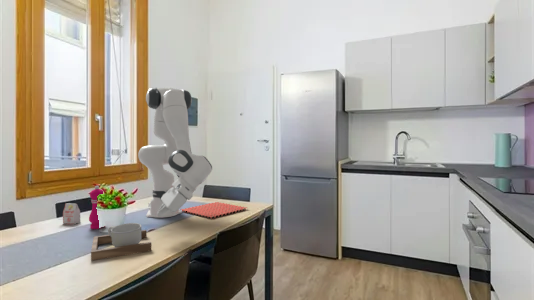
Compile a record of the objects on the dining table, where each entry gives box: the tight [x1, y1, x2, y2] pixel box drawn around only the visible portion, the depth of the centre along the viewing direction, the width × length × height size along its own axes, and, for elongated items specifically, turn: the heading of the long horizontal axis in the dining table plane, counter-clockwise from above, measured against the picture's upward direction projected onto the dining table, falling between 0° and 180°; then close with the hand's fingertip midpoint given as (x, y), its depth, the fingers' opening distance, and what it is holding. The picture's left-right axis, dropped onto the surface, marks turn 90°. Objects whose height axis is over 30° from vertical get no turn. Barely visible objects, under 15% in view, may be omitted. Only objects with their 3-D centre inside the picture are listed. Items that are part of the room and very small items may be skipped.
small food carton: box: [62, 202, 81, 225], centre depth 152 cm, size 4×7×10 cm, turn 77°
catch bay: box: [90, 229, 153, 262], centre depth 116 cm, size 19×20×3 cm
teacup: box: [107, 222, 142, 247], centre depth 117 cm, size 14×11×8 cm
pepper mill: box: [88, 185, 104, 230], centre depth 144 cm, size 7×7×20 cm
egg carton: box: [180, 201, 248, 220], centre depth 177 cm, size 28×28×2 cm
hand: (158, 214), depth 123 cm, fingers closed
